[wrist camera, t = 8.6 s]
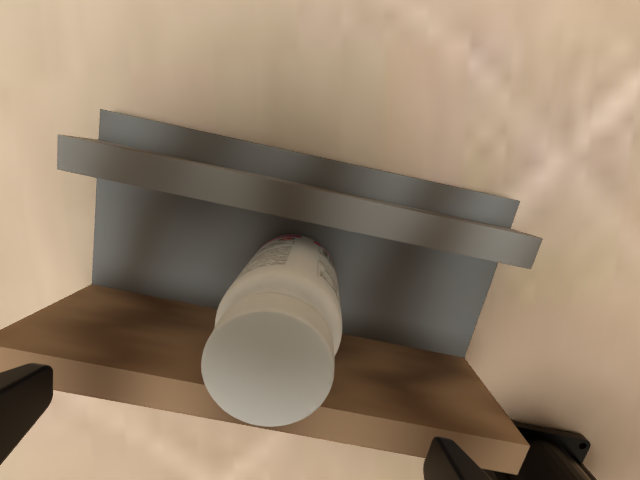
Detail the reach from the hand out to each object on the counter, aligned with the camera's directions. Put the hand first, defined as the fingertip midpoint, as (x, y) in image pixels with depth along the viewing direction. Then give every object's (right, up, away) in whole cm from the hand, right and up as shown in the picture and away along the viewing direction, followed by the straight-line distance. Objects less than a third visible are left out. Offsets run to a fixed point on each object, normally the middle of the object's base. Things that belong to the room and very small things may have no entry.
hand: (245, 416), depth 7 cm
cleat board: (0, +3, +11) cm, 11 cm away
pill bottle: (0, +2, +10) cm, 11 cm away
